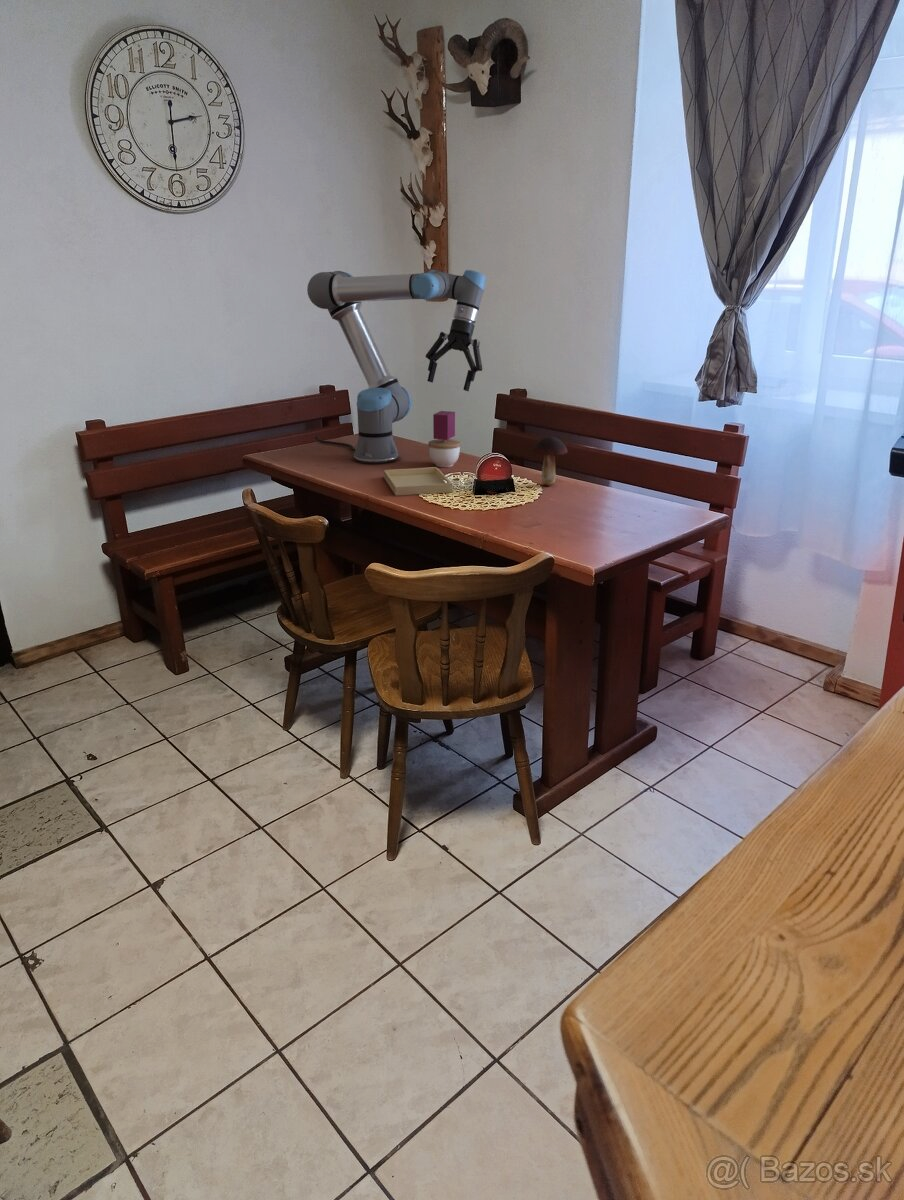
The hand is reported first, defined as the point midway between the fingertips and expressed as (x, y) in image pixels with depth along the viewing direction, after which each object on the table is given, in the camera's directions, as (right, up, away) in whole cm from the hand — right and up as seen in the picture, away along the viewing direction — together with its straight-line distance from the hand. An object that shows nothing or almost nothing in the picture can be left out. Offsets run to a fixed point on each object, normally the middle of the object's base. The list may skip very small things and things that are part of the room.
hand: (447, 386), depth 269 cm
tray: (-9, -35, -19) cm, 41 cm away
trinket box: (-1, -25, +5) cm, 26 cm away
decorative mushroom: (+31, -36, -19) cm, 51 cm away
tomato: (+14, -38, -26) cm, 48 cm away
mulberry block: (-1, -17, +1) cm, 17 cm away
